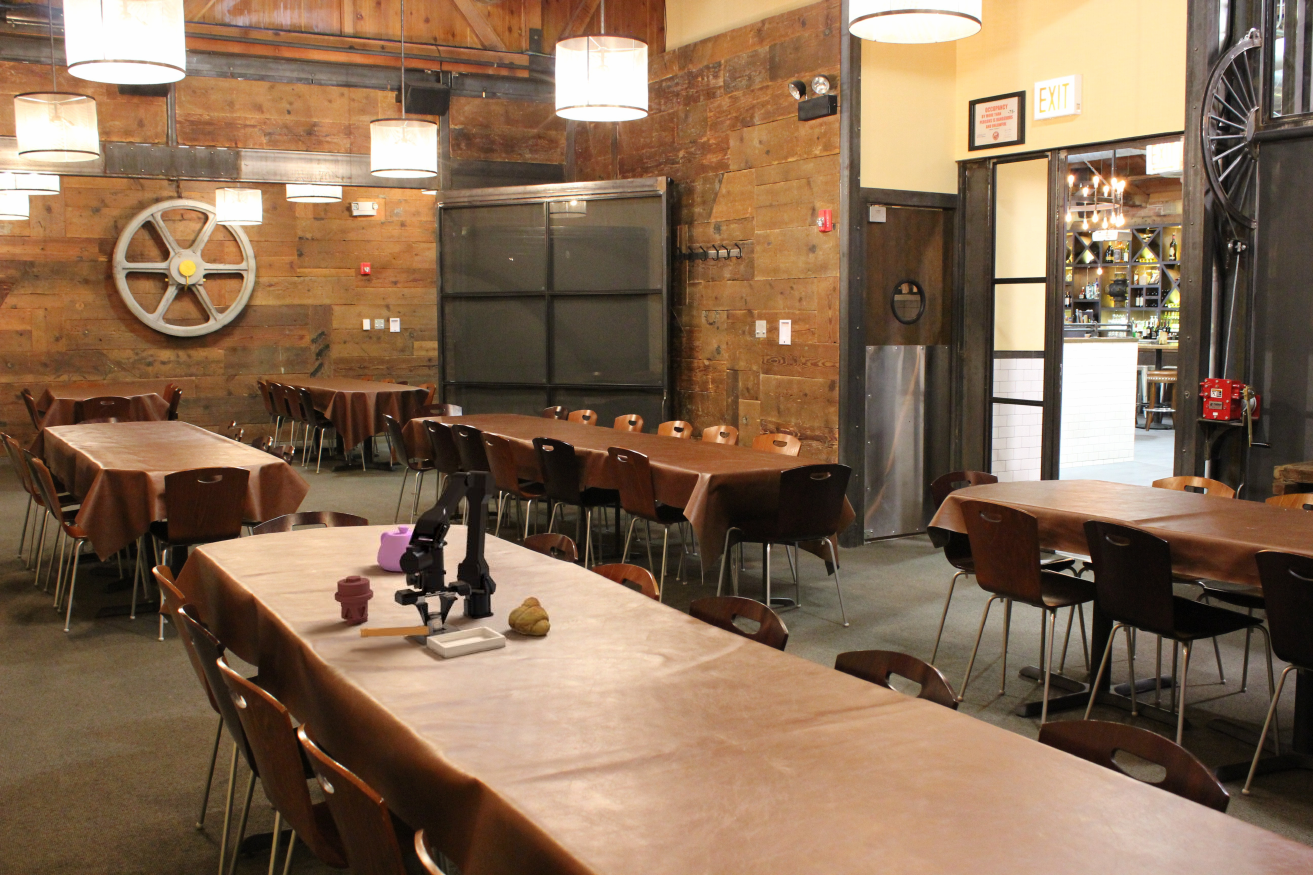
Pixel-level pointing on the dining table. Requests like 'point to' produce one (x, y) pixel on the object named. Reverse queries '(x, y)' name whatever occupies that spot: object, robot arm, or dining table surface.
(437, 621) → the salt shaker
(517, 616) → the bread roll
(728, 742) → the dining table surface
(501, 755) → the dining table surface
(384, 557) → the teapot
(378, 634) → the bar
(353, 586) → the mechanical component
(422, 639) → the hitch block
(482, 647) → the tray
